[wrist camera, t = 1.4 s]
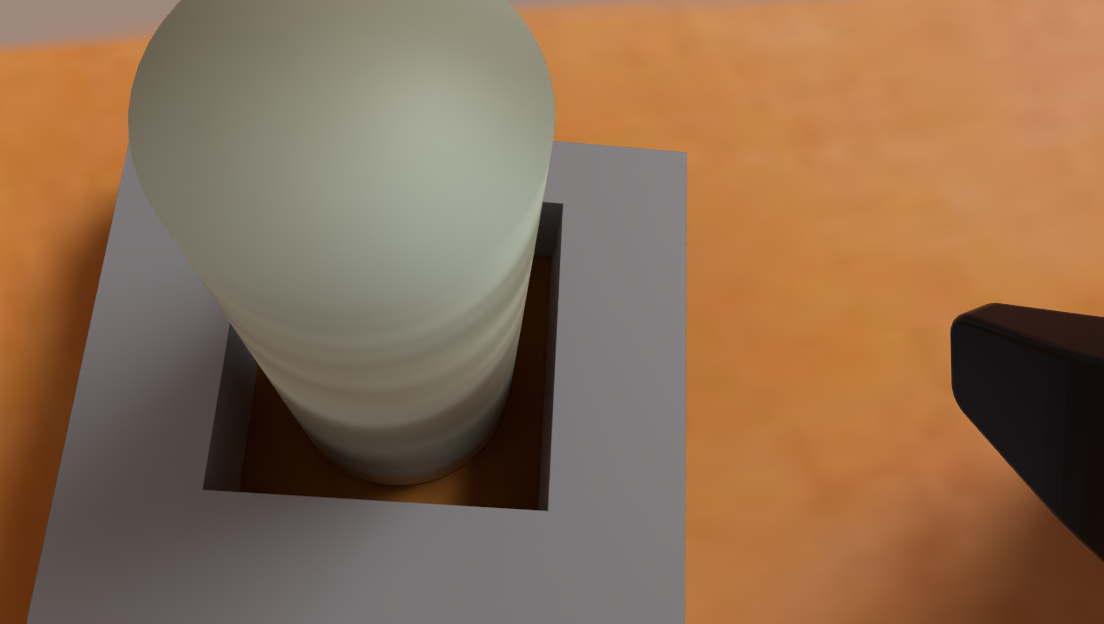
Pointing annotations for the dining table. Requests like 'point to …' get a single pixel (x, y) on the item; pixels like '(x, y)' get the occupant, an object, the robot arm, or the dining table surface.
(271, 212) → the peg
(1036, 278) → the dining table surface
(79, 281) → the dining table surface
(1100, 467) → the robot arm
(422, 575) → the pocket board
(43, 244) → the dining table surface
